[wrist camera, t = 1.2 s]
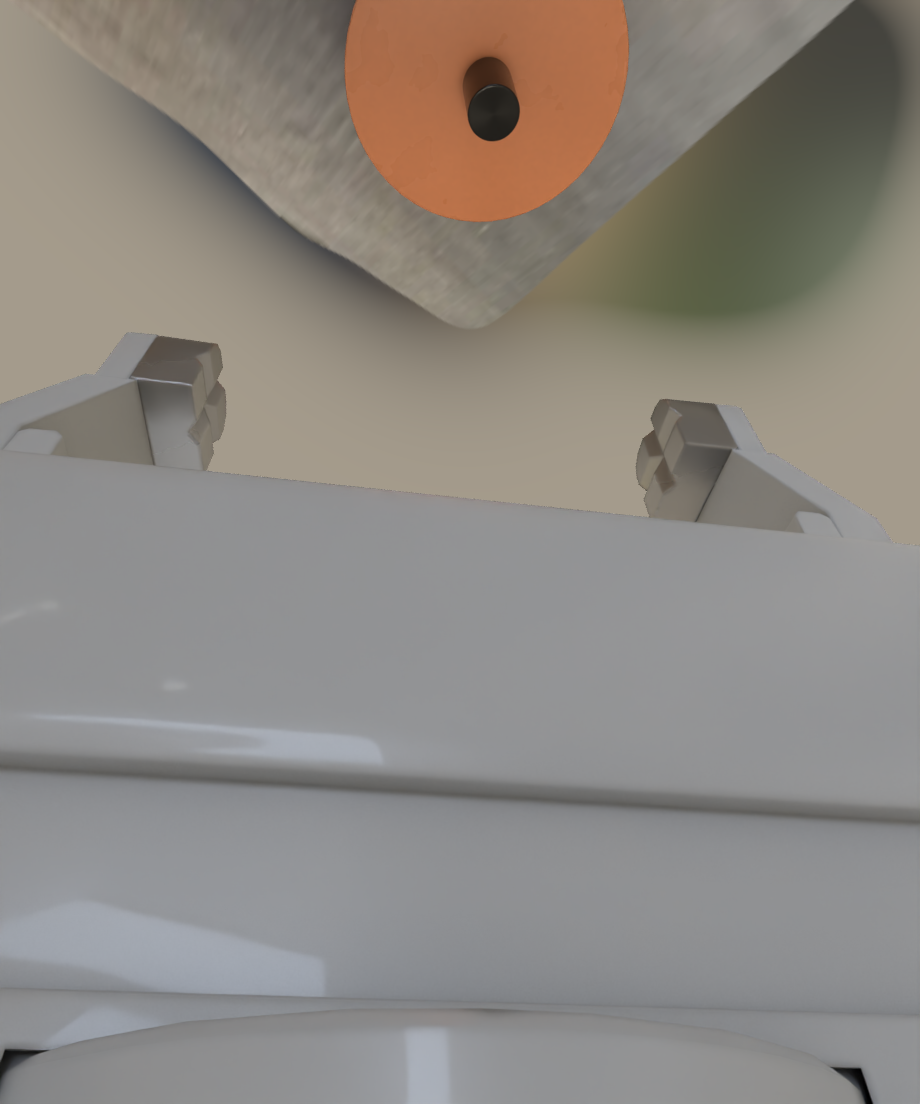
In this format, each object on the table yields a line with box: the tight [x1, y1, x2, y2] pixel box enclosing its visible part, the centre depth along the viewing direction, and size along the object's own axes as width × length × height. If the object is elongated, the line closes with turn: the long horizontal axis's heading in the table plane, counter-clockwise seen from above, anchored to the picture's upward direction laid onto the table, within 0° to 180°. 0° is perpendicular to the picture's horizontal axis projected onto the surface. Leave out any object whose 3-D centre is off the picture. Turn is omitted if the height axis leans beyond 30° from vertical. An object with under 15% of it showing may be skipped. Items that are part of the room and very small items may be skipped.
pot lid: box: [345, 0, 629, 222], centre depth 33 cm, size 14×14×4 cm
